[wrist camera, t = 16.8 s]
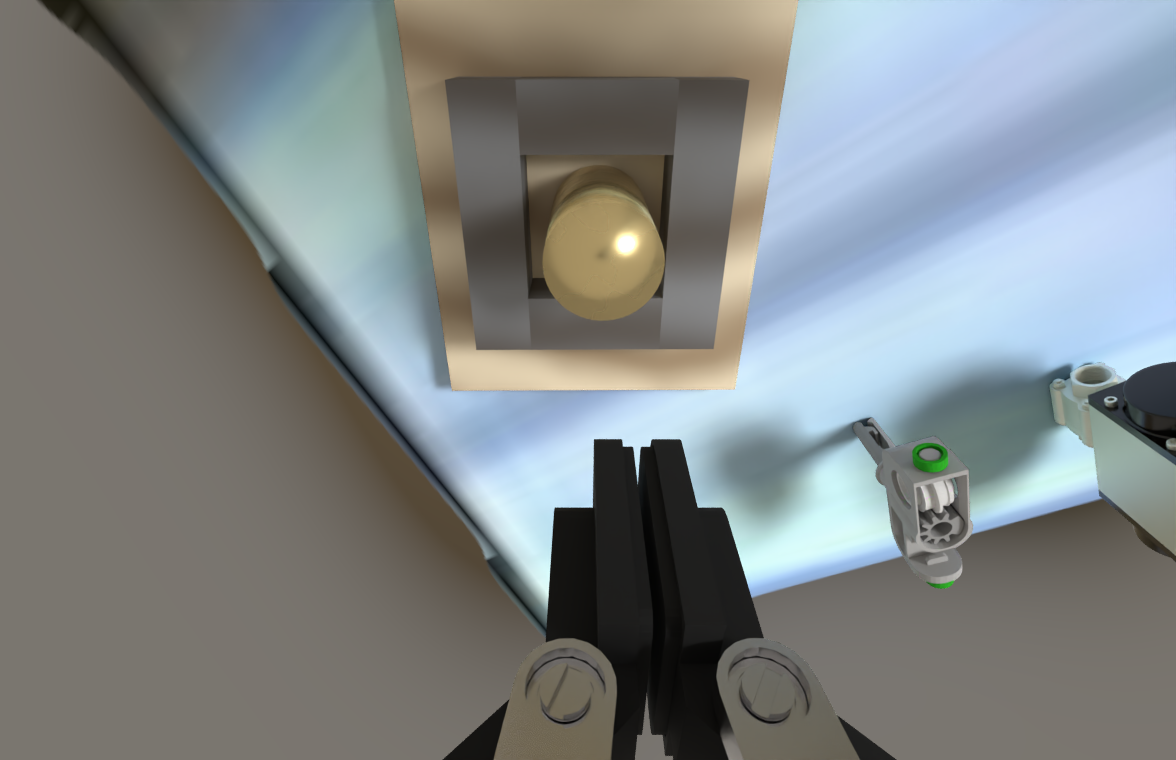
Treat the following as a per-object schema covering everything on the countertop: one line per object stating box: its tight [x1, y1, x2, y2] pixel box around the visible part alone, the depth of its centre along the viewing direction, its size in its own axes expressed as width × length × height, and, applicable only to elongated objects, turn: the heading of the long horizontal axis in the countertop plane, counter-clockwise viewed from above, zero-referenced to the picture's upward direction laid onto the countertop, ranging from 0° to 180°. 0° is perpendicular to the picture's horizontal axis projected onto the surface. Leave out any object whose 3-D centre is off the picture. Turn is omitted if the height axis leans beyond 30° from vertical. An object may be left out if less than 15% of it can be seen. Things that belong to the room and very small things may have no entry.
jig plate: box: [394, 0, 798, 391], centre depth 29 cm, size 22×18×4 cm
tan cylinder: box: [542, 165, 665, 321], centre depth 26 cm, size 5×5×8 cm
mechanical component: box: [853, 418, 973, 589], centre depth 34 cm, size 3×10×10 cm, turn 21°
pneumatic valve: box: [1049, 362, 1176, 562], centre depth 32 cm, size 6×12×12 cm, turn 30°
